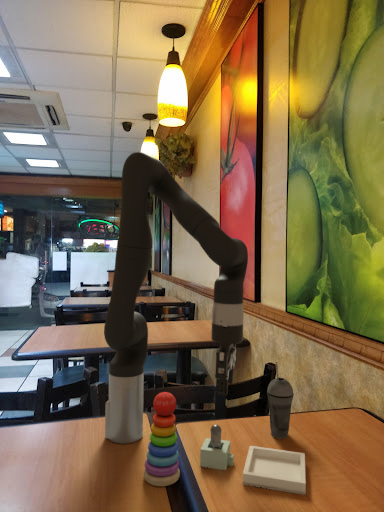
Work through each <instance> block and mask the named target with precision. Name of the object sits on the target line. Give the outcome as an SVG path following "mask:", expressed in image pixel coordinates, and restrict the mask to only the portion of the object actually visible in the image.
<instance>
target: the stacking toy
mask: <svg viewBox="0 0 384 512" xmlns="http://www.w3.org/2000/svg"><path fill="white" fill-rule="evenodd" d="M152 404H153V405H152V406H153V409H154V412H155V414H154V415H153V417H152V424H151V427H150V431H151V433H150V435H149V442H148V445H147V448H148V451H147V453H146V459H145V462H144V471H143V478H144V480H145V481H146V482H147V483H148V484H150V485H151V486H155V487H167V486H171V485H173V484H175V483H176V482H177V481H178V480H179V478H180V477H181V476H180V475H181V471H180V467H179V466H180V464H179V451H178V443H177V440H178V435H177V432H176V431H177V427H176V425H175V423H176V421H177V419H176V416H175V414H174V412H175V411H176V407H177V400H176V397H175V396H174V395H173V394H172V393H171V392H169V391H162V392H159V393H158V394H157V395H155V397H154V399H153V403H152Z"/></svg>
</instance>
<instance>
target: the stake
mask: <svg viewBox="0 0 384 512" xmlns="http://www.w3.org/2000/svg"><path fill="white" fill-rule="evenodd" d="M210 438H211V448H214V449H221V440H222V428H221V425H219V424H213V425H212V426H211V428H210Z"/></svg>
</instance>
